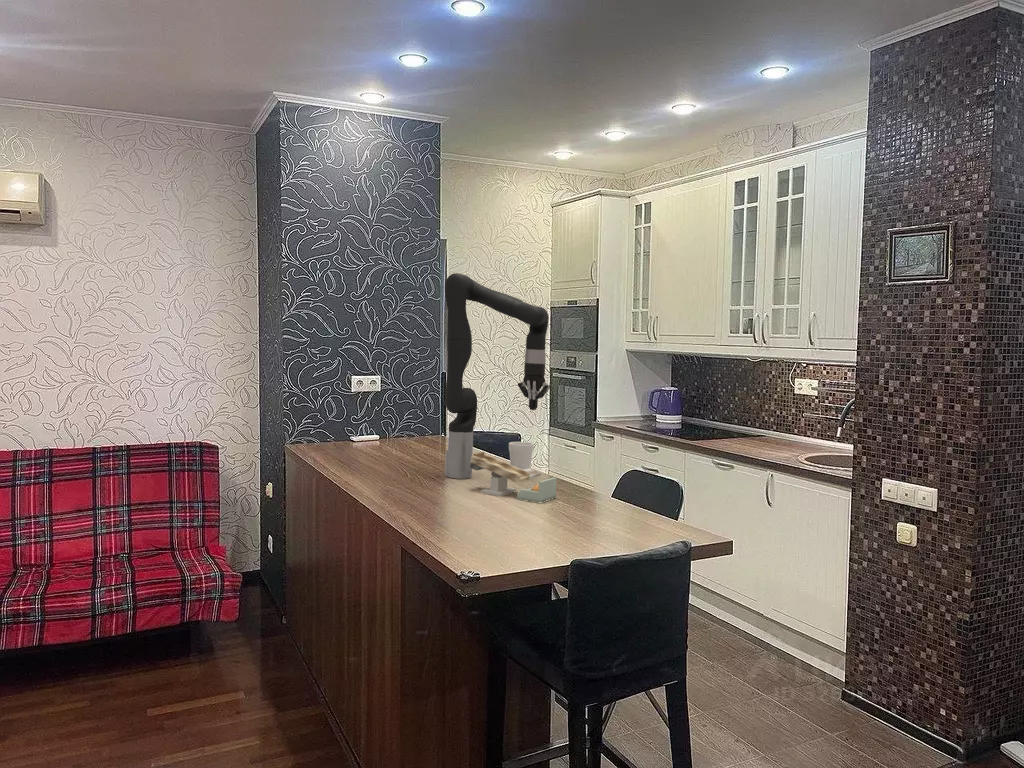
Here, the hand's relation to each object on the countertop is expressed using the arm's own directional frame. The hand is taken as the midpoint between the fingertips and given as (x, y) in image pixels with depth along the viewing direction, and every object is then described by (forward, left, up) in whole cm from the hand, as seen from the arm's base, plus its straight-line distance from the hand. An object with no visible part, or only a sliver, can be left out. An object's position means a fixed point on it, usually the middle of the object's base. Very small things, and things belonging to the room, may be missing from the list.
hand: (533, 409), depth 285 cm
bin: (+15, -21, -27) cm, 37 cm away
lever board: (-1, -17, -22) cm, 27 cm away
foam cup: (-8, +6, -27) cm, 29 cm away
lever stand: (0, -21, -27) cm, 34 cm away
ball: (+15, -21, -24) cm, 36 cm away
